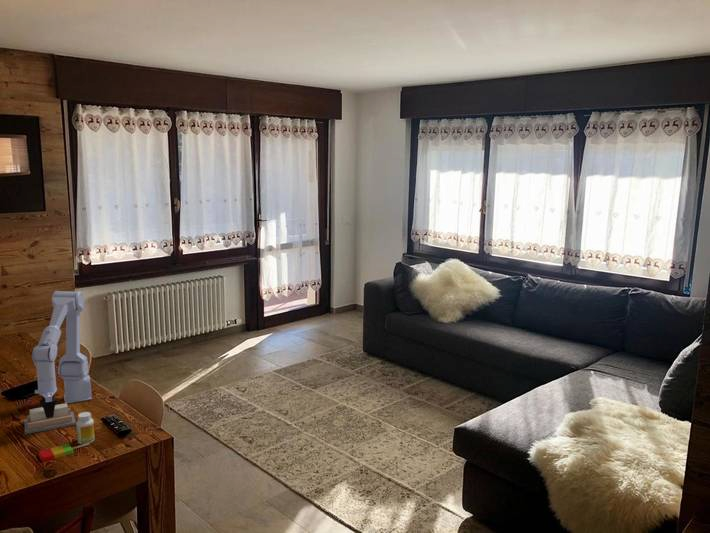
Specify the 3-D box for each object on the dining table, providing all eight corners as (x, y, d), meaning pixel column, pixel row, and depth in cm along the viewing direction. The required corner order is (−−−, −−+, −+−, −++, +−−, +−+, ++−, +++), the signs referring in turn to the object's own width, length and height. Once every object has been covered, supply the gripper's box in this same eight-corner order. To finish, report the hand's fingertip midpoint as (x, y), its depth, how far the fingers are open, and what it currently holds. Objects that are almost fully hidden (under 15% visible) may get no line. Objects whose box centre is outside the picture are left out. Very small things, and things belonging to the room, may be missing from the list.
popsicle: (38, 456, 190) (37, 451, 189) (86, 443, 199) (86, 437, 199) (42, 463, 186) (42, 458, 185) (91, 449, 195) (91, 444, 195)
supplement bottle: (98, 438, 201) (96, 412, 199) (86, 445, 196) (84, 419, 194) (85, 435, 203) (84, 409, 201) (73, 442, 198) (71, 416, 196)
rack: (73, 413, 219) (72, 406, 218) (75, 424, 210) (75, 417, 210) (24, 422, 211) (23, 414, 210) (25, 434, 203) (24, 426, 202)
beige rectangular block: (67, 415, 215) (66, 403, 214) (68, 419, 212) (67, 406, 211) (30, 422, 209) (29, 409, 208) (30, 426, 206) (29, 413, 205)
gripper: (32, 372, 211) (35, 407, 214) (34, 386, 199) (37, 423, 202) (54, 369, 215) (57, 403, 218) (57, 383, 203) (60, 419, 205)
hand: (49, 413), depth 210 cm, fingers open, 7 cm apart
